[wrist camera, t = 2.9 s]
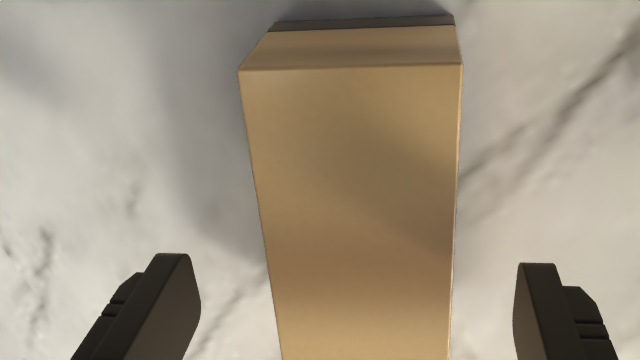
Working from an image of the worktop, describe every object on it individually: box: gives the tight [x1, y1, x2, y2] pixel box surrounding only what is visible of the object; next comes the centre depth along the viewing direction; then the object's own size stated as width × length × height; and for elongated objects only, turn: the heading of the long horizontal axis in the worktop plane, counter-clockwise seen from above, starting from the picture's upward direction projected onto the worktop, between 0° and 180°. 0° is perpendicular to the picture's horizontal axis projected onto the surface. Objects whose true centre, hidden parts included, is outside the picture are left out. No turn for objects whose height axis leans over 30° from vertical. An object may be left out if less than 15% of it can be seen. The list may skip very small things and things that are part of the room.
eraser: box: [237, 15, 463, 360], centre depth 17 cm, size 10×5×4 cm, turn 5°
